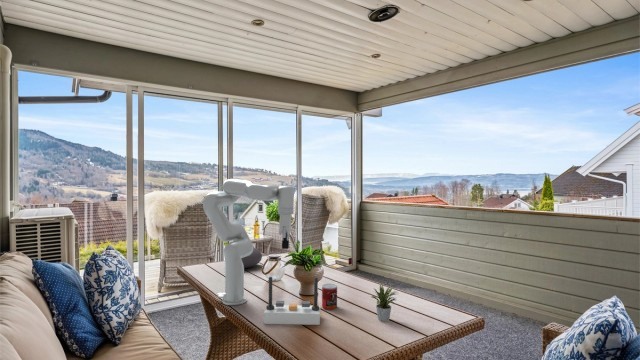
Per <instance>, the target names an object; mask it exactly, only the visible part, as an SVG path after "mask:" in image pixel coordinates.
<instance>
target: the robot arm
mask: <svg viewBox="0 0 640 360" xmlns="http://www.w3.org/2000/svg"><path fill="white" fill-rule="evenodd" d="M222 190H223V191H222ZM222 190H221V191H212V192H209V193H207V194H206V195H205V196H204V199H203V202H202V207H203V211H204V214H205V215H206V217H207V218H208V220H209V222H210V223H211V225H212V228H213V229H214V231H215V233H216V236H217V237H218V239H219V240H220V241H221V242H225V243H227V244H226V245H225V246H224V248H223V258H224V262H225V263H224V264H225V265H224V269H225V270H224V271H225V272H224V273H225V278H224V279H225V281H224V282H225V287H224V288H225V289H224V291H225V292H223V293H222V292H218V293H217V295H216V296H217V298H218V299H221V303H222V304H223V305H226V306H239V305H242V304H245V303H247V301H248V299H247V297H246V296H245V293H244V292H245V277H244V276H245V268H244V265H243V262H242V260H241V258H243V257H246V256H249V255H250V254H251V253H252V251H253V247H254V245H253V242H252V240H251V238H250V237H249V235H248V233H247V231H246V229H245V227H244V226H243V224H241V223H240V222H238V221H237V222H236V221H234V222H230V221H229V219H228V217H227V215H226V213H225V212H224V211H223V210H222V209H221V208H224V207H230V206H232V205H233V204H235V203H236V202H237V201H238V200H239V199H240V198H241V197H243V198H248V199H251V200H255V201H256V200H257V201H262V202H263V201H264V202H269V201H278V202H277V203H278V206H277V208H278V209H277V211H278V212H277V213H278V215H279V225H278V227H279V228H278V235H279V236H281V235H282V237H281V238H282V239H281V248H282V249H283V250H284V249H286V250H287V249H289V248H290V240H289V239H290V238H289V237H290V234H291V231H292V215H294V214H295V213H294V211H295V209H294V206H295V204H294V203H295V201H294V200H295V199H294V198H295V197H294V196H295V189H294V187H293V186H291V185H277V184H268V185H263V184H256V183H254V182H253V181H251V180H244V179H242V178H230V179H226V180H225V181H224V182H223V184H222ZM230 241H231V242H230ZM228 242H229V243H228Z"/></svg>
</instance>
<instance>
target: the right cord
mask: <svg viewBox="0 0 640 360" xmlns="http://www.w3.org/2000/svg"><path fill="white" fill-rule="evenodd" d="M318 283H319V279H318V277H314V278H313V305H311V306H312V310H313V311H319V310H320V311H321V306H320V305H318V300H319V299H318V297H319V295H318V290H319V288H318V286H319V284H318ZM319 306H320V307H319Z"/></svg>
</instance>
